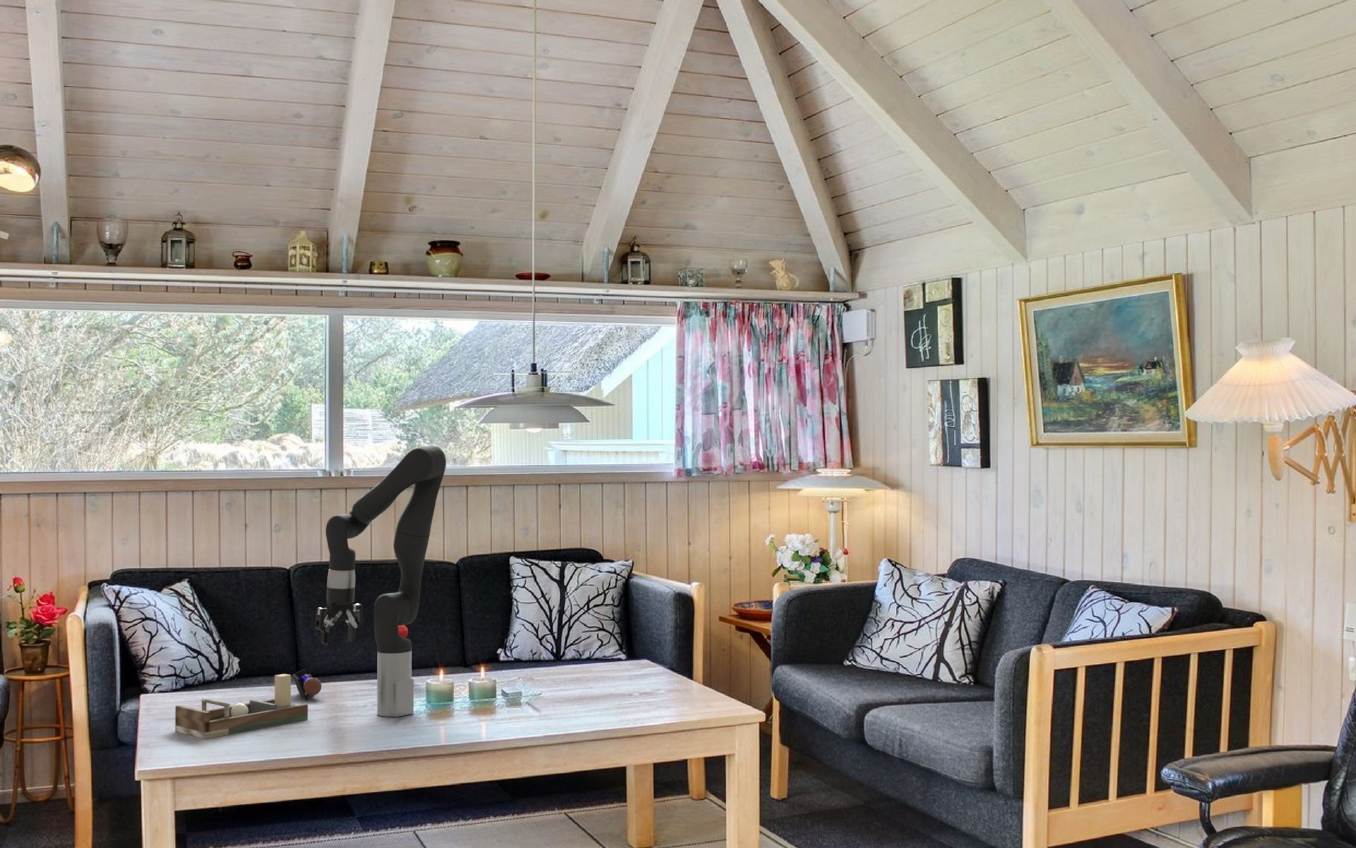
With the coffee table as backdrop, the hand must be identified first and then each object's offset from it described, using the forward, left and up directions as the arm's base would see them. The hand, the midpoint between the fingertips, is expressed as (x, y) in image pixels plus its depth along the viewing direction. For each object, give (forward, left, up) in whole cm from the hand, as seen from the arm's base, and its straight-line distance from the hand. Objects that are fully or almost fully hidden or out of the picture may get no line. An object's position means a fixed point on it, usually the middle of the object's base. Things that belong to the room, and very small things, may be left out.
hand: (338, 643), depth 346 cm
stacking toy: (+19, -37, -19) cm, 46 cm away
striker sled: (+4, +17, -17) cm, 25 cm away
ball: (+4, +28, -15) cm, 32 cm away
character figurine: (+25, -7, -19) cm, 33 cm away
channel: (+4, +27, -19) cm, 33 cm away
